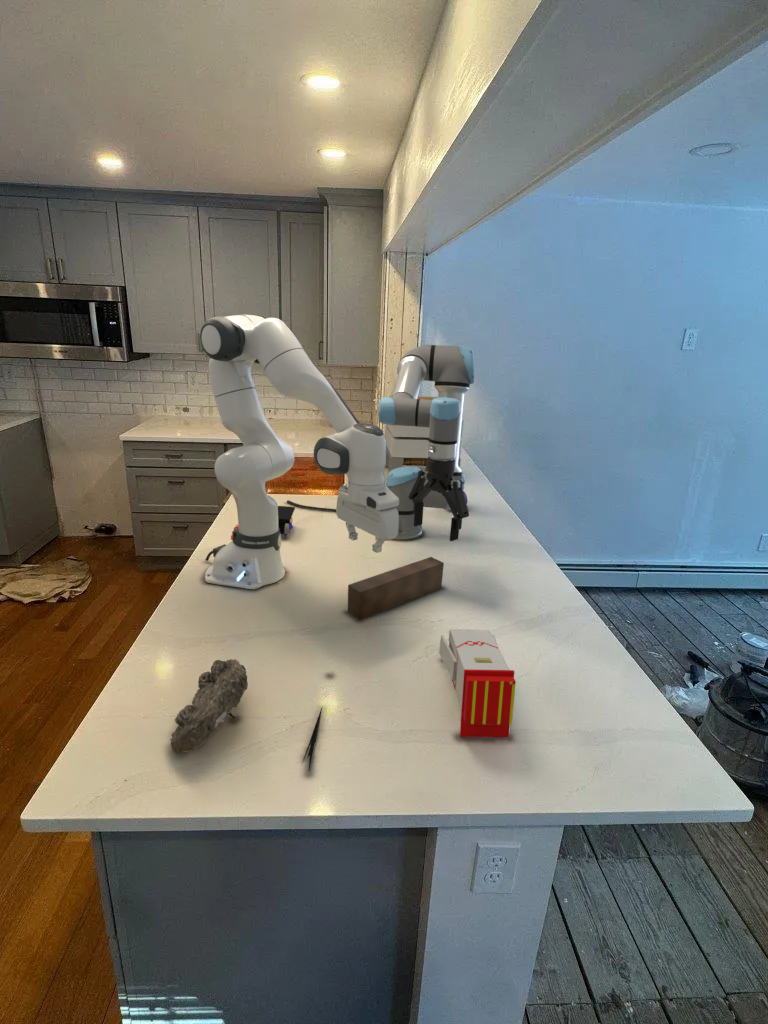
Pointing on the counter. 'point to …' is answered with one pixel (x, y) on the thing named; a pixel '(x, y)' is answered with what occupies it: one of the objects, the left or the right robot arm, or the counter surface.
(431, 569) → the walnut beam
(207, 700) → the fossil
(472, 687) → the toy
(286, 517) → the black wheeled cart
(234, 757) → the counter surface
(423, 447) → the transformer
